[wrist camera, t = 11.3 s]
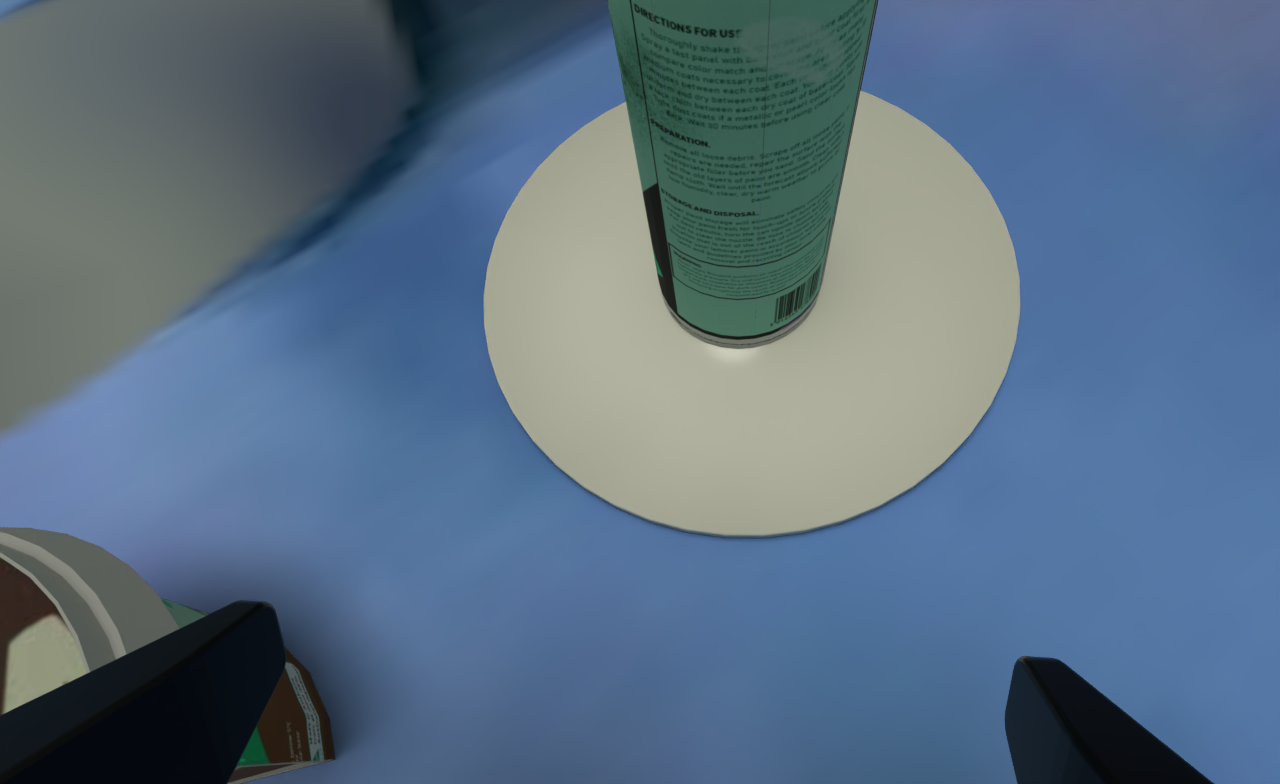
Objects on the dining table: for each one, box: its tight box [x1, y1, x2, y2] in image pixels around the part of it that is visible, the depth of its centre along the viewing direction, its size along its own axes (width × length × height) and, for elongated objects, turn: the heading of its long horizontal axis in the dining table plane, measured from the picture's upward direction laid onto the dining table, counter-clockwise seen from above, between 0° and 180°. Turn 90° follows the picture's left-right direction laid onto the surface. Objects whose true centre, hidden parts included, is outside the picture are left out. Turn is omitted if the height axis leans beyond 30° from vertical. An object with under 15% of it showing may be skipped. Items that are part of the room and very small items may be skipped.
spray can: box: [607, 0, 878, 349], centre depth 17 cm, size 6×6×20 cm
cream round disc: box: [484, 91, 1020, 538], centre depth 26 cm, size 18×18×1 cm
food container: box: [0, 527, 335, 784], centre depth 19 cm, size 12×6×10 cm, turn 103°
